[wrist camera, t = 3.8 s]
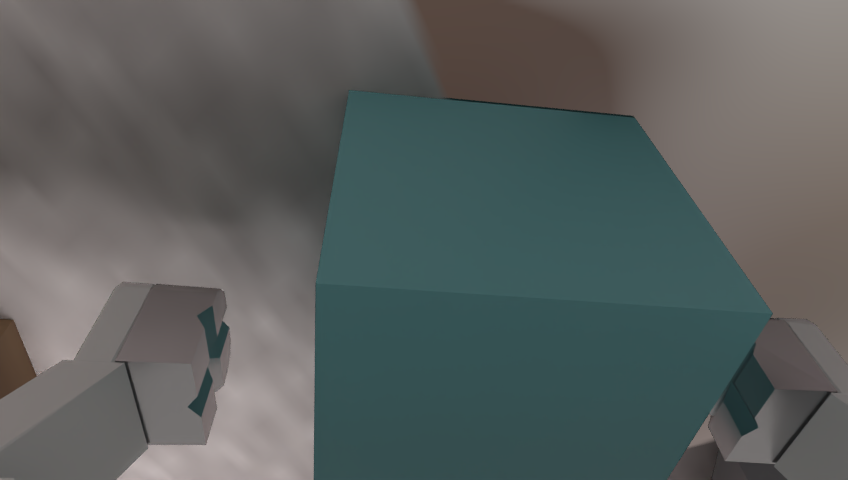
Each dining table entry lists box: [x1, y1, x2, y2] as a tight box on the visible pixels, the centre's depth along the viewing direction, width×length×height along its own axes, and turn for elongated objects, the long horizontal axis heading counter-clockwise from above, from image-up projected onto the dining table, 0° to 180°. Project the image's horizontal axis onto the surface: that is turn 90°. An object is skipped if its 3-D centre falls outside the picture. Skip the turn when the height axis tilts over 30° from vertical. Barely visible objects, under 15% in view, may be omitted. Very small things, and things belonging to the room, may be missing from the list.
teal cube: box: [314, 90, 773, 480], centre depth 10 cm, size 5×5×5 cm
